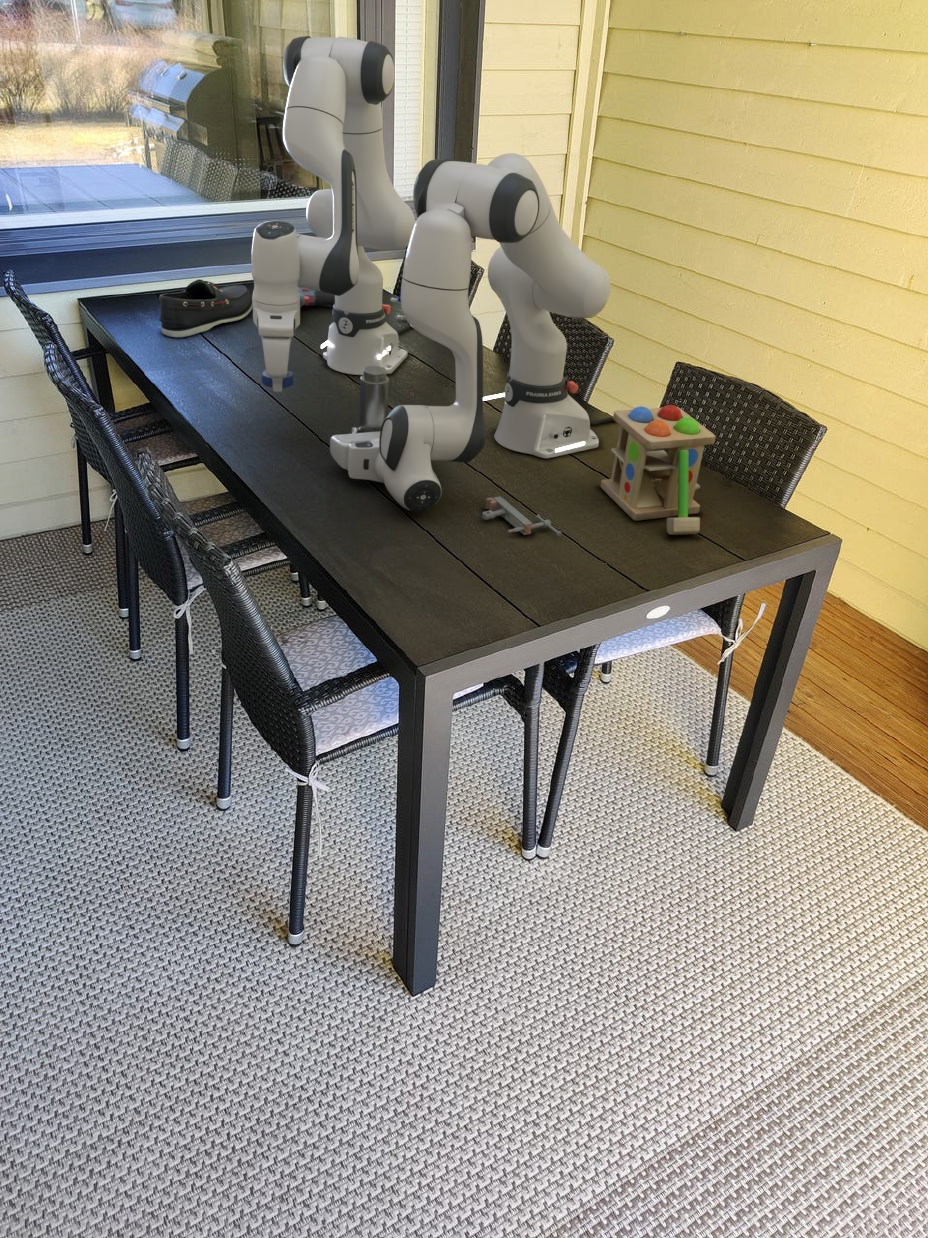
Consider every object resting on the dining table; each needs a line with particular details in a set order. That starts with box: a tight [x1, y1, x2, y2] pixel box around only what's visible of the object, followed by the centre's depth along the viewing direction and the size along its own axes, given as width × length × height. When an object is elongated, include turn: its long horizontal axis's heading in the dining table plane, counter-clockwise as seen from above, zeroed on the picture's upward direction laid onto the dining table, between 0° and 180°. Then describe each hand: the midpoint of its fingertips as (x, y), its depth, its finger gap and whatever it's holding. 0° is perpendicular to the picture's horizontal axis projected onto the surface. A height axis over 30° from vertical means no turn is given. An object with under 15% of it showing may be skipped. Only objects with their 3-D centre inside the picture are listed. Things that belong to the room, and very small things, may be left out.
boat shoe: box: [158, 278, 253, 338], centre depth 253 cm, size 13×33×10 cm, turn 147°
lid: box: [261, 369, 294, 389], centre depth 193 cm, size 6×6×2 cm
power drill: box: [298, 287, 335, 309], centre depth 265 cm, size 5×19×20 cm
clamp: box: [481, 496, 563, 537], centre depth 177 cm, size 15×2×10 cm
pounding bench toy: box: [599, 404, 716, 536], centre depth 182 cm, size 23×14×18 cm, turn 20°
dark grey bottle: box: [358, 366, 390, 433], centre depth 192 cm, size 5×5×18 cm
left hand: (277, 383), depth 194 cm, fingers closed on lid, 6 cm apart
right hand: (371, 429), depth 195 cm, fingers closed on dark grey bottle, 5 cm apart
